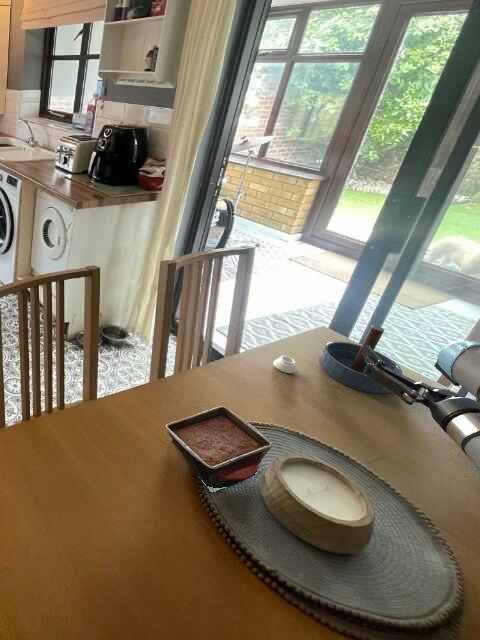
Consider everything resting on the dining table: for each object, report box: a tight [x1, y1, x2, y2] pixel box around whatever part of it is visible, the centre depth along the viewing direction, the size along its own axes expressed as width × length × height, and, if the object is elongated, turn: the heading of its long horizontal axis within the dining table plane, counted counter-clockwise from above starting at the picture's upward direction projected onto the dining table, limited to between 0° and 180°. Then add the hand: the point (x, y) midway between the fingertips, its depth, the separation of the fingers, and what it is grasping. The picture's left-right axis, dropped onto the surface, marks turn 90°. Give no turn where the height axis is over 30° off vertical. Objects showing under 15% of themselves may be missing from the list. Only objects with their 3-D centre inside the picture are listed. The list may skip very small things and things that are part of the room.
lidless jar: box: [272, 355, 297, 374], centre depth 110 cm, size 5×3×5 cm
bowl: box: [318, 341, 403, 394], centre depth 107 cm, size 15×15×5 cm
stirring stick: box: [350, 325, 385, 373], centre depth 105 cm, size 2×2×14 cm
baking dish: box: [164, 405, 273, 488], centre depth 83 cm, size 14×18×10 cm
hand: (401, 355), depth 94 cm, fingers open, 13 cm apart
